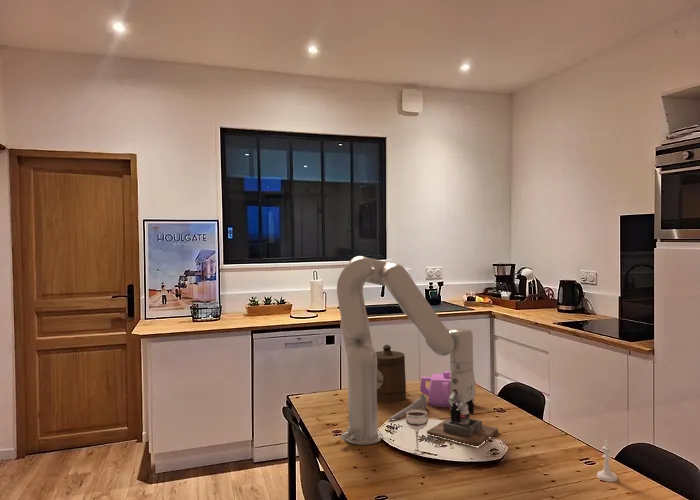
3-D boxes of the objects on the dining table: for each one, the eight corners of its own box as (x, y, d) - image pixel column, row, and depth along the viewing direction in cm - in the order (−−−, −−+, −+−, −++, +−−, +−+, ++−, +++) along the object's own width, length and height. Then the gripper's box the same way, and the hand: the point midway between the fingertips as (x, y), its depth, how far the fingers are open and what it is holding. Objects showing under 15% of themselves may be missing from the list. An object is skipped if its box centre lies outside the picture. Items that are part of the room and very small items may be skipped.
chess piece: (610, 473, 138) (610, 436, 138) (621, 481, 133) (620, 443, 133) (593, 473, 138) (592, 437, 138) (602, 482, 133) (602, 444, 133)
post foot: (478, 448, 157) (477, 435, 156) (427, 435, 168) (426, 423, 168) (498, 432, 169) (498, 420, 169) (449, 421, 180) (449, 410, 180)
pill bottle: (459, 432, 166) (458, 407, 165) (452, 427, 170) (452, 403, 170) (472, 431, 167) (471, 406, 167) (465, 426, 171) (464, 401, 171)
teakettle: (417, 401, 205) (416, 370, 205) (448, 393, 214) (447, 364, 214) (446, 412, 191) (445, 379, 190) (478, 404, 200) (477, 373, 200)
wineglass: (431, 449, 156) (431, 411, 156) (423, 457, 150) (422, 417, 150) (411, 445, 160) (410, 407, 160) (402, 453, 154) (401, 414, 154)
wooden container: (366, 394, 216) (365, 342, 216) (400, 391, 219) (399, 340, 218) (374, 404, 201) (373, 349, 201) (410, 401, 204) (409, 347, 204)
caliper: (424, 409, 196) (424, 392, 196) (426, 409, 195) (426, 393, 195) (387, 421, 182) (387, 404, 182) (389, 422, 181) (389, 405, 181)
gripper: (460, 373, 159) (461, 427, 159) (483, 362, 173) (483, 412, 173) (439, 370, 164) (440, 422, 164) (462, 359, 177) (463, 408, 177)
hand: (462, 417), depth 168 cm, fingers open, 9 cm apart
